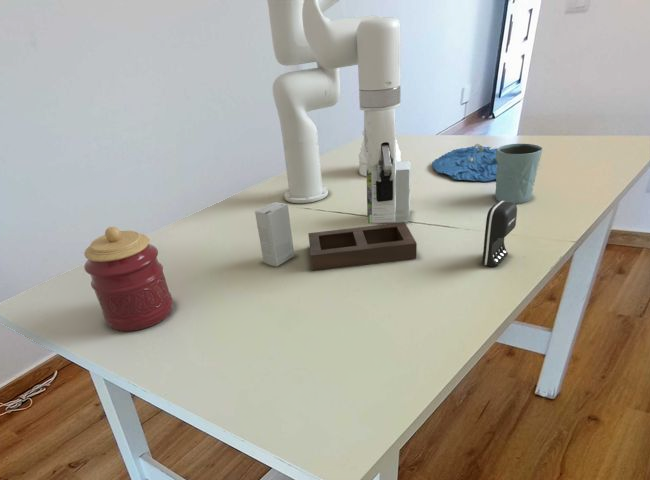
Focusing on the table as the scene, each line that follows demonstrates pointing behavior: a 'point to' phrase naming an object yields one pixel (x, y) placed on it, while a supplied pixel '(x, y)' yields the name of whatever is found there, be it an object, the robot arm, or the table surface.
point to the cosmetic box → (275, 233)
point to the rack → (361, 246)
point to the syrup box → (375, 209)
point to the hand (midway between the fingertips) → (381, 194)
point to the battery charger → (498, 231)
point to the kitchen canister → (128, 280)
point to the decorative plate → (469, 163)
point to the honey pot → (363, 161)
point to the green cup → (516, 172)
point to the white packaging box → (402, 191)
